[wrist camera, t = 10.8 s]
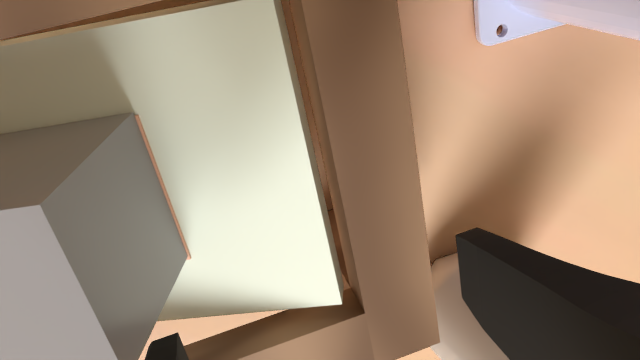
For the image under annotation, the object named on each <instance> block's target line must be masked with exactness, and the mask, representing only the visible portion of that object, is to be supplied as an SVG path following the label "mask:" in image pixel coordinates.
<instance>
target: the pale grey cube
mask: <svg viewBox="0 0 640 360" xmlns="http://www.w3.org/2000/svg"><path fill="white" fill-rule="evenodd" d="M187 257H188V255H187V252H186V250H185V247H184V245H183V242H182V239H181V237H180V234H179V231H178V229H177V226H176V223H175V221H174V218H173V216H172V213H171V210H170V208H169V205H168V202H167V200H166V197H165V194H164V192H163V189H162V187H161V184H160V181H159V179H158V176H157V173H156V171H155V168H154V165H153V163H152V160H151V158H150V155H149V152H148V150H147V147H146V144H145V142H144V139H143V136H142V134H141V131H140V129H139V126H138V123H137V121H136V118H135V115H134V113H133V112H129V113H123V114H118V115H112V116H106V117H100V118H94V119H88V120H82V121H76V122H70V123H64V124H58V125H52V126H46V127H40V128H34V129H28V130H22V131H16V132H10V133H5V134H0V360H138V359H139V357H140V355H141V353H142V351H143V348H144V346H145V344H146V342H147V340H148V338H149V336H150V334H151V332H152V330H153V328H154V326H155V323H156V321H157V319H158V317H159V315H160V313H161V311H162V309H163V307H164V305H165V303H166V301H167V299H168V296H169V294H170V292H171V290H172V288H173V286H174V284H175V282H176V280H177V278H178V276H179V274H180V272H181V269H182V267H183V265H184V263H185V261H186V259H187Z"/></svg>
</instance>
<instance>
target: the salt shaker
mask: <svg viewBox="0 0 640 360" xmlns="http://www.w3.org/2000/svg"><path fill="white" fill-rule="evenodd" d="M431 273H432V281H433V289H434V297H435V305H436V313H437V321H438V329H439V337H440V343H438V344H435V345H433V346H430V348H431V349H432V350H433V351H434V352H435V353H436V355H437V356H438V357H439V358H440V359H441V360H509V358H508V357H507V356H506V355H505V354H504V353H503V352H502V351H501V349H500V348H499V347H498V346H497V345H496V344H495V343H494V341H493V340H492V339H491V338H490V337H489V336H488V334H487V333H486V332H485V331H484V330H483V328H482V327H481V326H480V324H479V323H478V321H477V320H476V318H475V317H474V315H473V314H472V312H471V311H470V309H469V308H468V306H467V305H466V303H465V302H464V300H463V299H462V294H461V284H460V274H459V264H458V254H457V253H454V254H451V255H448V256H445V257H442V258H439V259H436V260H435V261H434V263H433V264H432V266H431Z"/></svg>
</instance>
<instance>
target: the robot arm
mask: <svg viewBox="0 0 640 360" xmlns="http://www.w3.org/2000/svg"><path fill="white" fill-rule="evenodd" d="M474 14H475V29H476V38H477V40H478V42H479V43H481V44H483V45H486V46H491V45H495V44H498V43H502V42H505V41H509V40H512V39H516V38H519V37H523V36H526V35H530V34H533V33H537V32H540V31H544V30H547V29H551V28H554V27H558V26H561V25H565V24H570V25H574V26H579V27H583V28H587V29H592V30H596V31H600V32H605V33H609V34H613V35H618V36H622V37H626V38H631V39H635V40H639V41H640V0H474ZM500 25H502V31H501V33H500V34H499V35H497V33H496V31H497V28H498V27H499V26H500ZM456 244H457V254H458V264H459V274H460V284H461V294H462V299H463V300H464V302H465V303H466V305H467V306H468V308H469V309H470V311H471V312H472V314H473V315H474V317H475V318H476V320H477V321H478V323H479V324H480V326H481V327H482V328H483V330H484V331H485V332H486V333H487V334H488V336H489V337H490V338H491V339H492V340H493V341H494V343H495V344H496V345H497V346H498V347H499V348H500V349H501V351H502V352H503V353H504V354H505V355H506V356H507V357H508V358H509V360H640V284H639V283H635V282H631V281H627V280H623V279H620V278H616V277H612V276H608V275H605V274H601V273H598V272H594V271H591V270H588V269H585V268H582V267H579V266H576V265H573V264H570V263H567V262H564V261H562V260H559V259H556V258H553V257H551V256H548V255H545V254H543V253H540V252H538V251H535V250H532V249H530V248H527V247H525V246H522V245H520V244H518V243H515V242H513V241H510V240H508V239H505V238H503V237H500V236H498V235H495V234H493V233H490V232H488V231H485V230H482V229H480V228H475V229H472V230H469V231H466V232H463V233H460V234H457V235H456ZM145 360H189V358H188V356H187V354H186V351H185V349H184V346H183V344H182V342H181V339H180V337H179V334H178V333H175V334H172V335H169V336H167V337H164V338H161V339H158V340H155V341H152V342H151V344H150V346H149V348H148V351H147V354H146V358H145Z"/></svg>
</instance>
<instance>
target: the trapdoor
mask: <svg viewBox="0 0 640 360" xmlns="http://www.w3.org/2000/svg"><path fill="white" fill-rule="evenodd" d="M129 112H133V113H134V115H135V118H136V121H137V123H138V126H139V129H140V131H141V134H142V136H143V139H144V142H145V144H146V147H147V150H148V152H149V155H150V158H151V160H152V163H153V165H154V168H155V171H156V173H157V176H158V179H159V181H160V184H161V187H162V189H163V192H164V194H165V197H166V200H167V202H168V205H169V208H170V210H171V213H172V216H173V218H174V221H175V223H176V226H177V229H178V231H179V234H180V237H181V239H182V242H183V245H184V247H185V250H186V252H187V255H188V257H187V259H186V261H185V263H184V265H183V267H182V269H181V272H180V274H179V276H178V278H177V280H176V282H175V284H174V286H173V288H172V290H171V292H170V294H169V296H168V299H167V301H166V303H165V305H164V307H163V309H162V311H161V313H160V315H159V317H158V319H157V321H165V320H176V319H187V318H198V317H209V316H220V315H231V314H242V313H253V312H264V311H275V310H285V309H296V308H307V307H318V306H329V305H340V304H342V301H343V288H344V284H343V279H342V275H341V270H340V266H339V261H338V257H337V252H336V247H335V243H334V238H333V234H332V229H331V225H330V220H329V216H328V211H327V207H326V202H325V198H324V193H323V189H322V184H321V179H320V175H319V170H318V166H317V161H316V157H315V152H314V148H313V143H312V139H311V134H310V130H309V125H308V121H307V116H306V112H305V107H304V102H303V98H302V93H301V89H300V84H299V80H298V75H297V71H296V66H295V62H294V57H293V53H292V48H291V44H290V39H289V35H288V30H287V25H286V21H285V16H284V12H283V7H282V3H281V0H210V1H205V2H200V3H195V4H189V5H184V6H179V7H174V8H169V9H163V10H158V11H153V12H148V13H143V14H137V15H132V16H127V17H122V18H117V19H112V20H106V21H101V22H96V23H91V24H86V25H80V26H75V27H70V28H65V29H60V30H54V31H49V32H44V33H39V34H34V35H29V36H23V37H18V38H13V39H8V40H3V41H0V134H5V133H10V132H16V131H22V130H28V129H34V128H40V127H46V126H52V125H58V124H64V123H70V122H76V121H82V120H88V119H94V118H100V117H106V116H112V115H118V114H123V113H129Z"/></svg>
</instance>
